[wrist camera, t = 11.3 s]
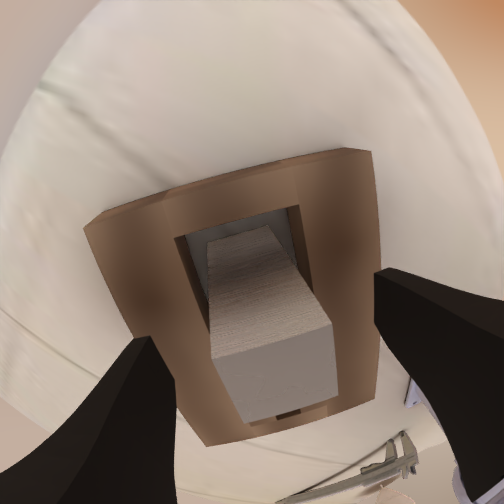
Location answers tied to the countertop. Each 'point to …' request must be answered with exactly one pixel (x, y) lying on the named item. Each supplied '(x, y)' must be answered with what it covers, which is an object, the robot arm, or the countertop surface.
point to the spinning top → (392, 497)
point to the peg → (267, 328)
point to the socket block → (309, 266)
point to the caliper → (367, 473)
